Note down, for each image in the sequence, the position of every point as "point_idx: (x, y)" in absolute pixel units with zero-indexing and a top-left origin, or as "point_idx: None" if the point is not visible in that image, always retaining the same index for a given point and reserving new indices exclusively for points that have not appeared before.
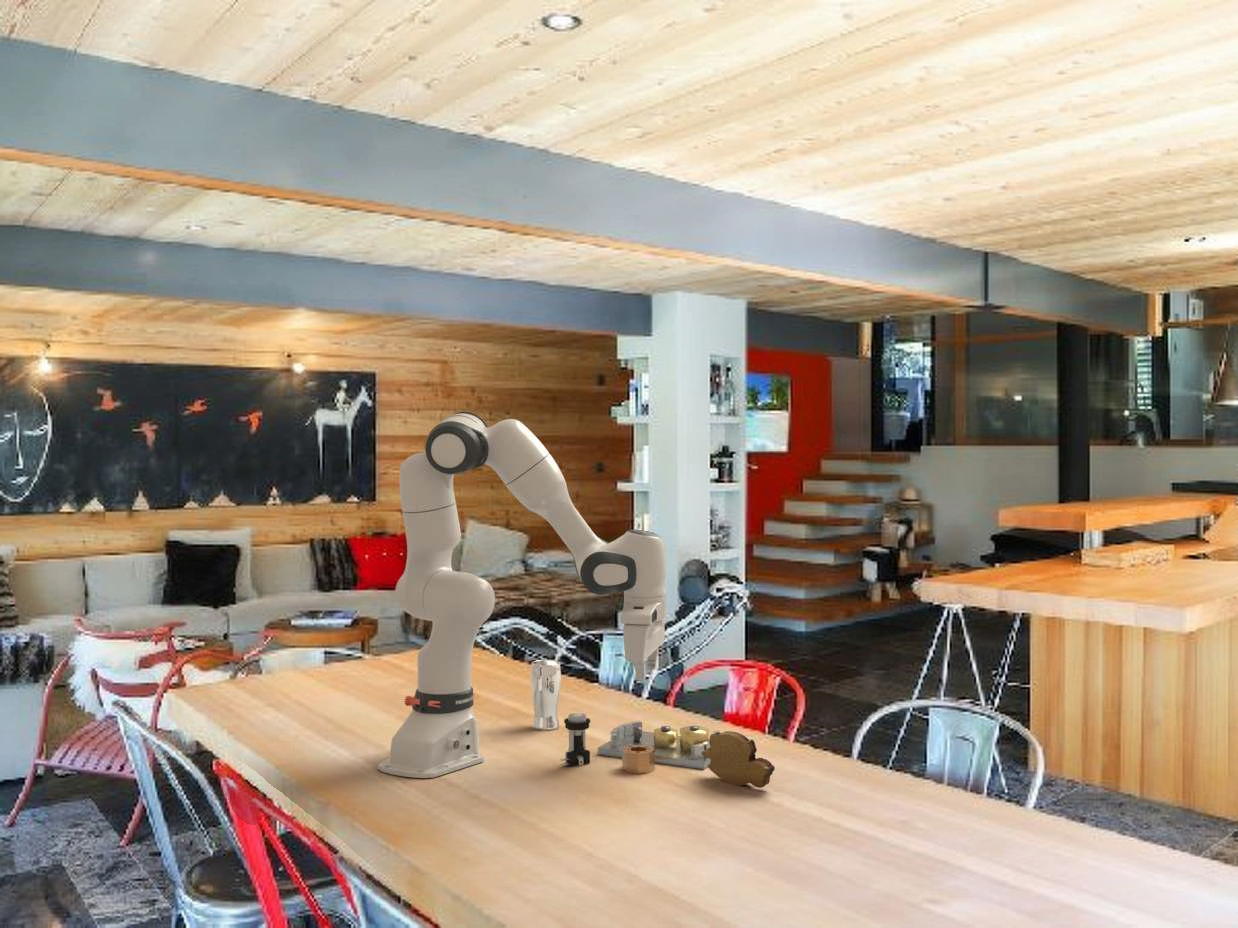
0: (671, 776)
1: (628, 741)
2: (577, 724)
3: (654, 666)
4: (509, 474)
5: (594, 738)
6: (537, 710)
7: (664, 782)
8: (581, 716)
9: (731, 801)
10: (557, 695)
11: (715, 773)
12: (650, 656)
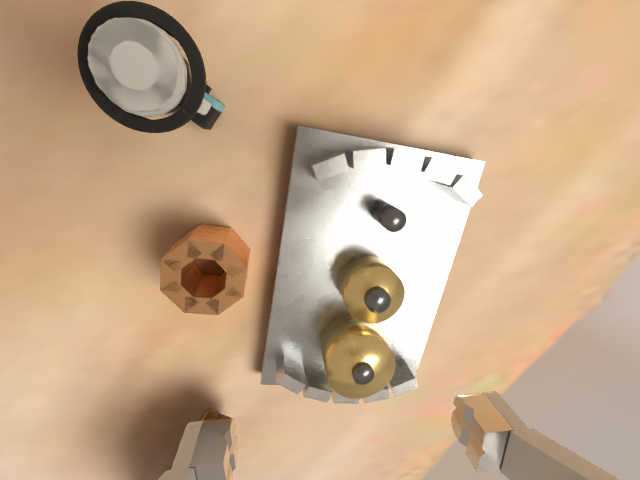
0: (189, 334)
1: (375, 189)
2: (90, 91)
3: (459, 438)
4: None
5: (443, 66)
6: None
7: (141, 334)
8: (121, 95)
9: (89, 460)
10: None
11: (203, 415)
12: (535, 461)
